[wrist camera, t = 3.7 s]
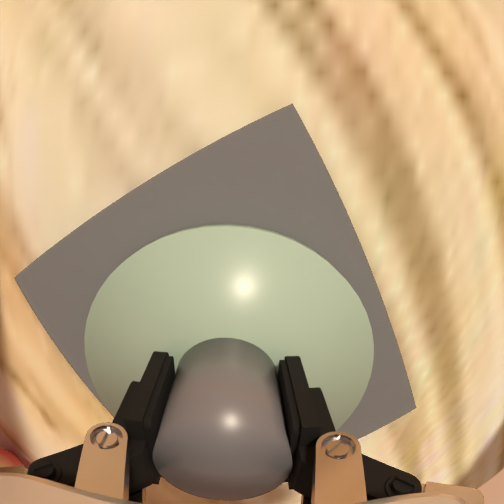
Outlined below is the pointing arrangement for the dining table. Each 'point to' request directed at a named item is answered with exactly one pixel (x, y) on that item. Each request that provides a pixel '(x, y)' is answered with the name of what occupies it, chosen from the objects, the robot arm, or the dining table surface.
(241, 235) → the lid
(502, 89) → the dining table surface
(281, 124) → the mat
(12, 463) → the decorative fruit
